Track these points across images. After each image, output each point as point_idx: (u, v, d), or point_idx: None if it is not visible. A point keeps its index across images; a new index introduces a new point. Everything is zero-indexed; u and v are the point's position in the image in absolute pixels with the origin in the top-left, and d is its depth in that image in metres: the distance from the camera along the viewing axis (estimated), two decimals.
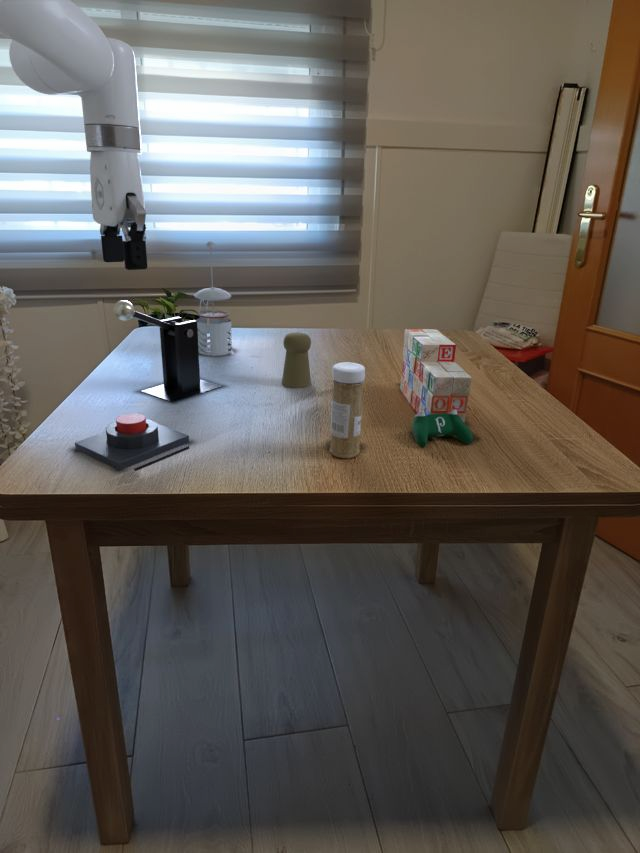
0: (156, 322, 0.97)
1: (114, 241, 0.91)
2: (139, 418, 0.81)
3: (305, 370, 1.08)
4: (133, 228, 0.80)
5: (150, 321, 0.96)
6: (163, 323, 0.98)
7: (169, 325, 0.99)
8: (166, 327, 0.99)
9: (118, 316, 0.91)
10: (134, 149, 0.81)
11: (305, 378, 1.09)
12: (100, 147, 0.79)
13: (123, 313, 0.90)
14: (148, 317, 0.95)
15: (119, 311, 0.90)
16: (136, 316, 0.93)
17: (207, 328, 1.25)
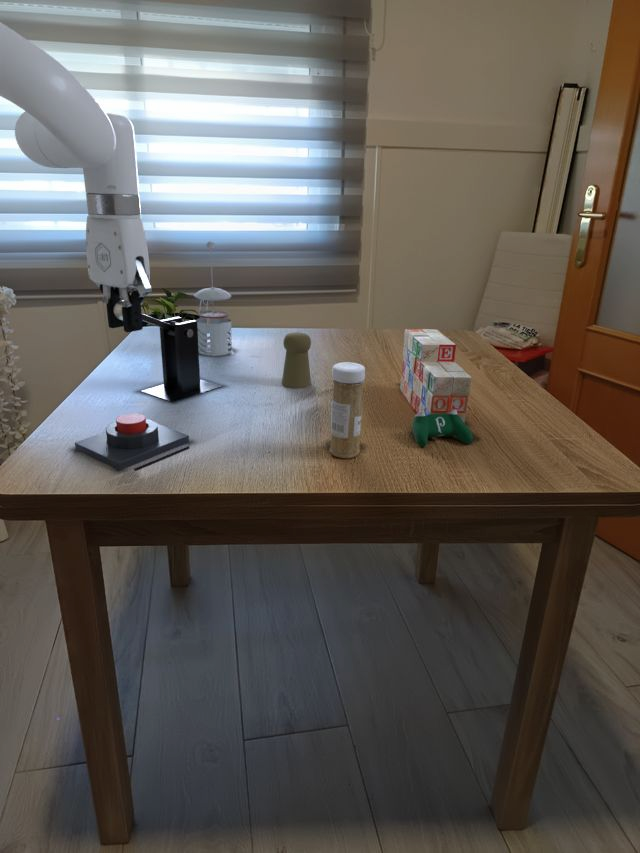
0: (156, 322, 0.97)
1: None
2: (139, 418, 0.81)
3: (305, 370, 1.08)
4: (135, 296, 0.87)
5: (150, 321, 0.96)
6: (163, 323, 0.98)
7: (169, 325, 0.99)
8: (166, 327, 0.99)
9: (118, 316, 0.91)
10: (138, 215, 0.86)
11: (305, 378, 1.09)
12: (108, 215, 0.83)
13: None
14: (148, 317, 0.95)
15: (119, 311, 0.90)
16: None
17: (207, 328, 1.25)
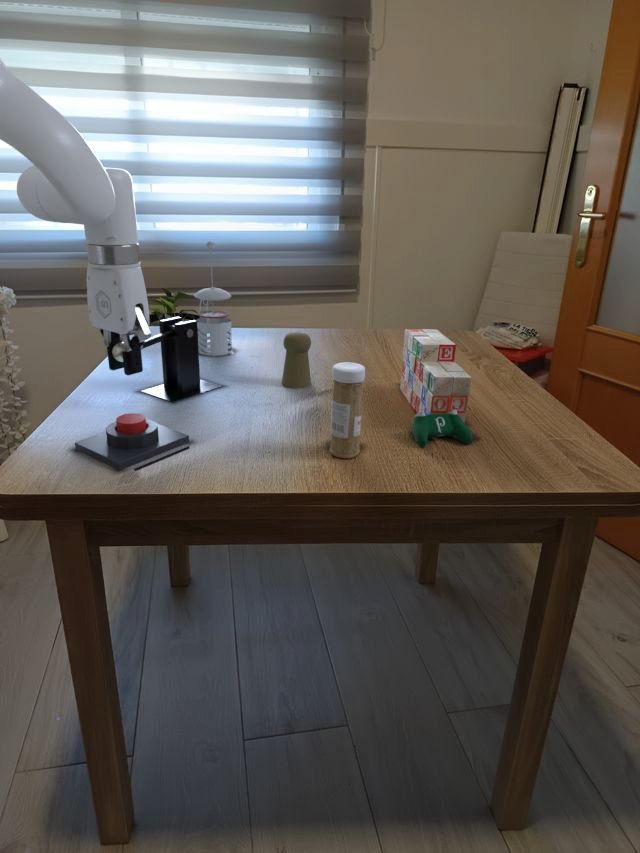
0: (155, 340, 0.98)
1: None
2: (139, 418, 0.81)
3: (305, 370, 1.08)
4: (135, 341, 0.90)
5: (150, 344, 0.97)
6: (162, 337, 0.98)
7: (168, 334, 0.99)
8: (166, 337, 0.99)
9: (120, 361, 0.93)
10: (137, 263, 0.88)
11: (305, 378, 1.09)
12: (108, 265, 0.85)
13: None
14: (146, 342, 0.96)
15: (119, 358, 0.92)
16: None
17: (207, 328, 1.25)
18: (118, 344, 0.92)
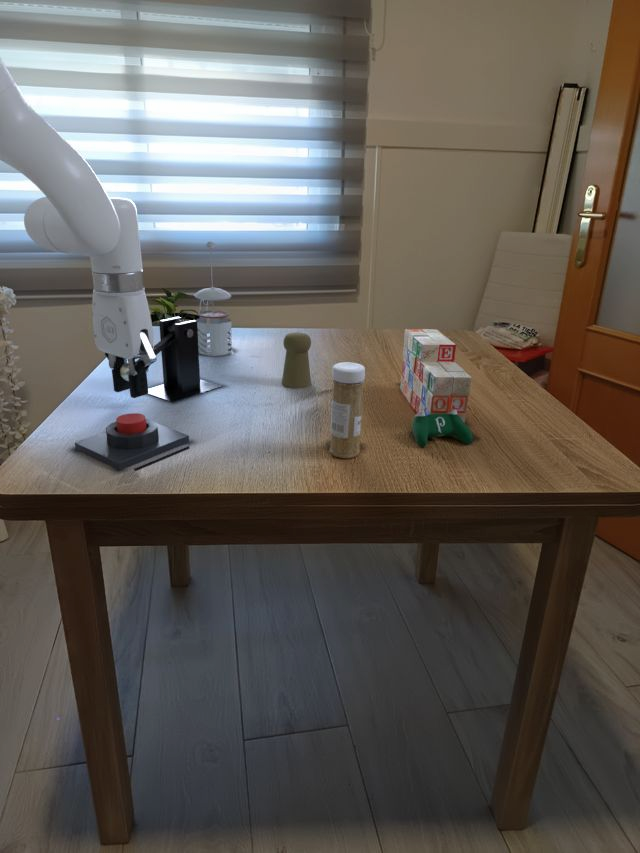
0: (158, 349, 0.99)
1: None
2: (139, 418, 0.81)
3: (305, 370, 1.08)
4: (141, 366, 0.91)
5: None
6: (164, 344, 0.99)
7: (169, 339, 1.00)
8: (168, 342, 1.00)
9: None
10: (141, 289, 0.89)
11: (305, 378, 1.09)
12: (114, 293, 0.87)
13: None
14: None
15: (128, 379, 0.95)
16: None
17: (207, 328, 1.25)
18: (124, 366, 0.94)
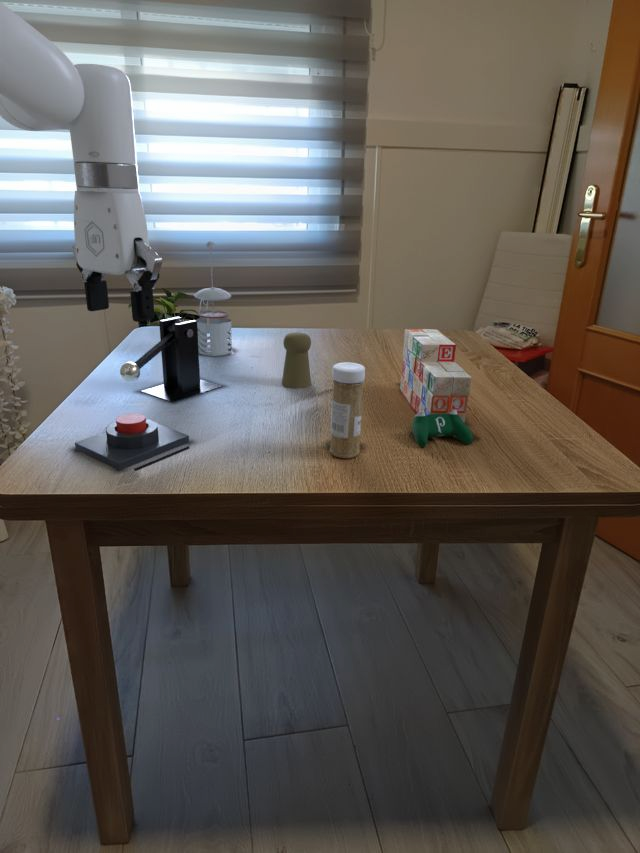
0: (158, 349, 0.99)
1: (99, 287, 0.80)
2: (139, 418, 0.81)
3: (305, 370, 1.08)
4: (147, 277, 0.72)
5: (154, 355, 0.98)
6: (164, 344, 0.99)
7: (169, 339, 1.00)
8: (168, 342, 1.00)
9: None
10: (136, 189, 0.73)
11: (305, 378, 1.09)
12: (101, 188, 0.70)
13: (132, 379, 0.95)
14: (150, 355, 0.97)
15: (128, 379, 0.95)
16: (142, 365, 0.97)
17: (207, 328, 1.25)
18: (124, 366, 0.94)
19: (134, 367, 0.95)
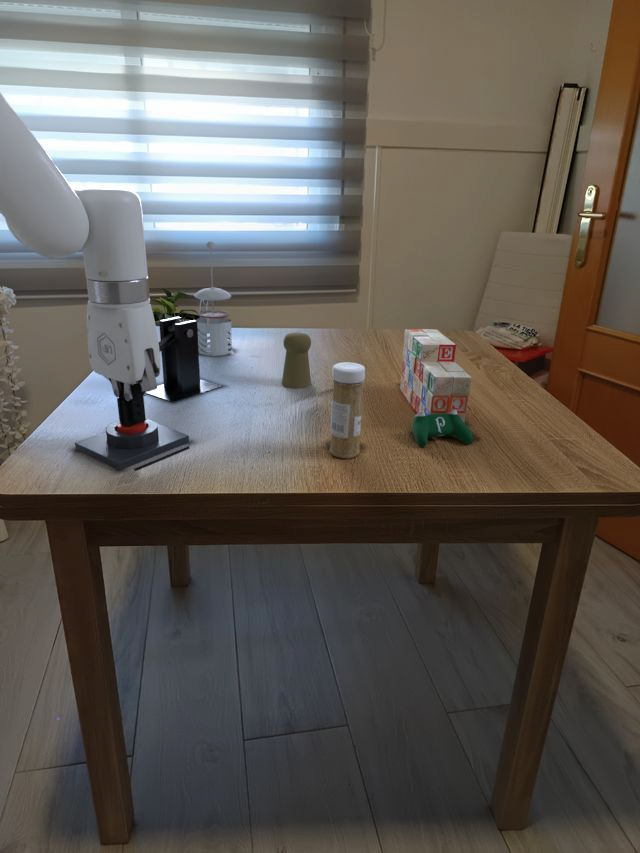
0: None
1: None
2: (140, 423, 0.81)
3: (305, 370, 1.08)
4: (137, 389, 0.77)
5: None
6: (164, 344, 0.99)
7: (169, 339, 1.00)
8: (168, 342, 1.00)
9: None
10: (146, 300, 0.74)
11: (305, 378, 1.09)
12: (113, 305, 0.71)
13: None
14: None
15: None
16: None
17: (207, 328, 1.25)
18: None
19: None
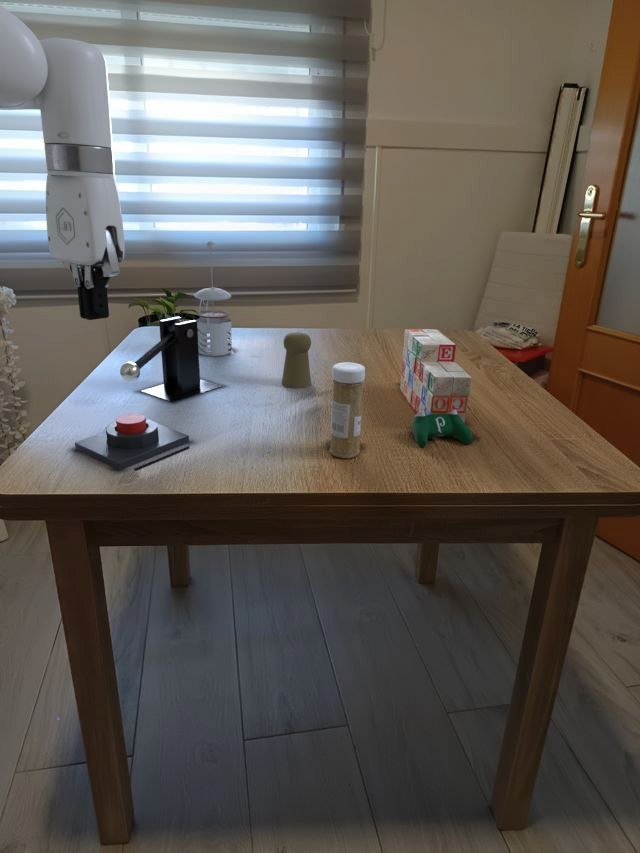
0: (158, 349, 0.99)
1: None
2: (139, 418, 0.81)
3: (305, 370, 1.08)
4: (98, 274, 0.71)
5: (154, 355, 0.98)
6: (164, 344, 0.99)
7: (169, 339, 1.00)
8: (168, 342, 1.00)
9: None
10: (110, 174, 0.68)
11: (305, 378, 1.09)
12: (72, 171, 0.65)
13: (132, 379, 0.95)
14: (150, 355, 0.97)
15: (128, 379, 0.95)
16: (142, 365, 0.97)
17: (207, 328, 1.25)
18: (124, 366, 0.94)
19: (134, 367, 0.95)
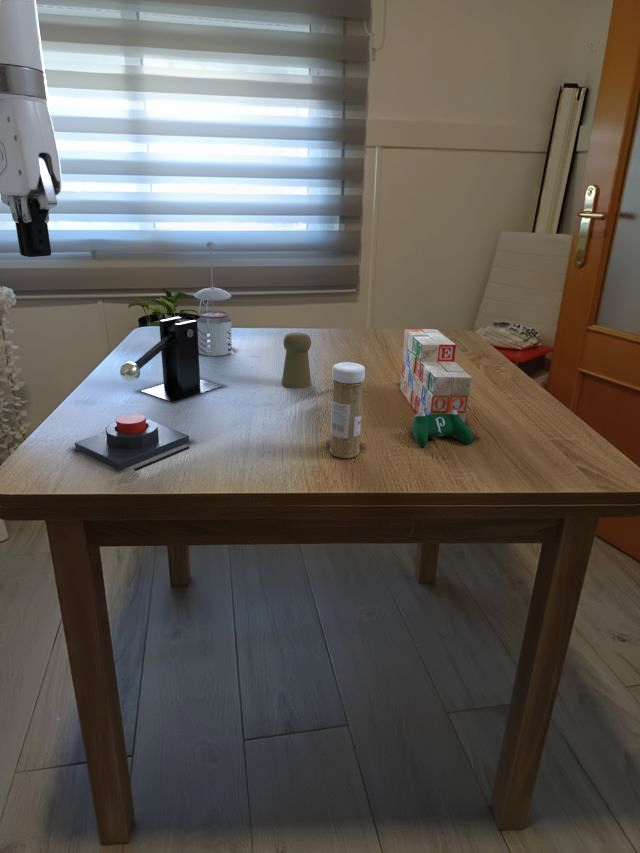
0: (158, 349, 0.99)
1: None
2: (139, 418, 0.81)
3: (305, 370, 1.08)
4: (35, 207, 0.68)
5: (154, 355, 0.98)
6: (164, 344, 0.99)
7: (169, 339, 1.00)
8: (168, 342, 1.00)
9: None
10: (42, 99, 0.65)
11: (305, 378, 1.09)
12: None
13: (132, 379, 0.95)
14: (150, 355, 0.97)
15: (128, 379, 0.95)
16: (142, 365, 0.97)
17: (207, 328, 1.25)
18: (124, 366, 0.94)
19: (134, 367, 0.95)
